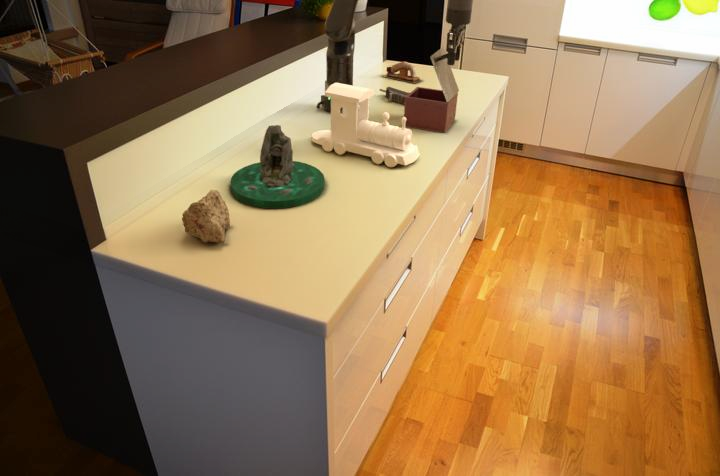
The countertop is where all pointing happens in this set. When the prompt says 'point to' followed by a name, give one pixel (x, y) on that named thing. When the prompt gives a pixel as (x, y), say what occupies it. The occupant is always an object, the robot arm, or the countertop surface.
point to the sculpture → (402, 72)
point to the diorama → (277, 176)
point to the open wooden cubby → (429, 110)
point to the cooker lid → (444, 74)
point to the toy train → (364, 129)
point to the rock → (207, 218)
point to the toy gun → (395, 94)
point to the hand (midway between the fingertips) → (453, 62)
